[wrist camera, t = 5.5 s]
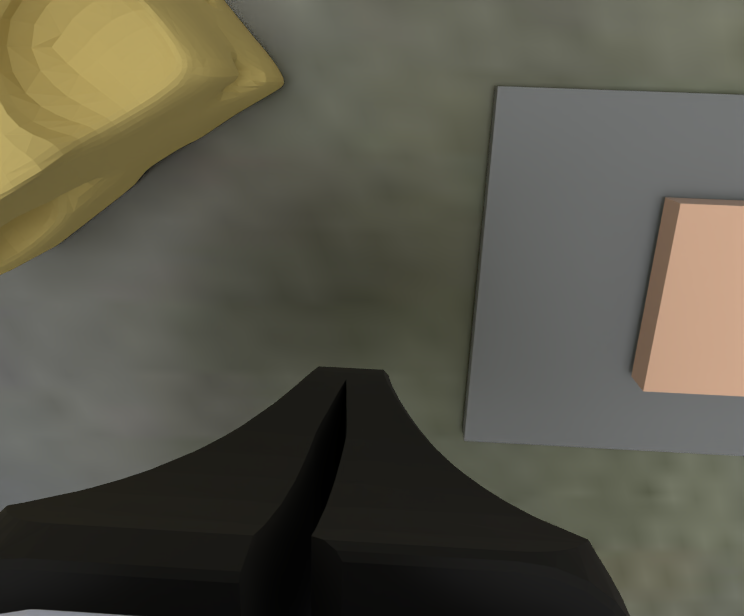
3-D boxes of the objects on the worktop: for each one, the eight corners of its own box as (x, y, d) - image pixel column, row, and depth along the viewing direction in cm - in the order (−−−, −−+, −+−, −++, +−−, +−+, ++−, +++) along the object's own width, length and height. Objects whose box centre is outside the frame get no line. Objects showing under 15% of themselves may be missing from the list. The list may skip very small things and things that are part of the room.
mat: (823, 451, 22) (834, 461, 22) (462, 432, 23) (464, 440, 22) (935, 101, 18) (952, 102, 18) (495, 86, 19) (497, 86, 18)
